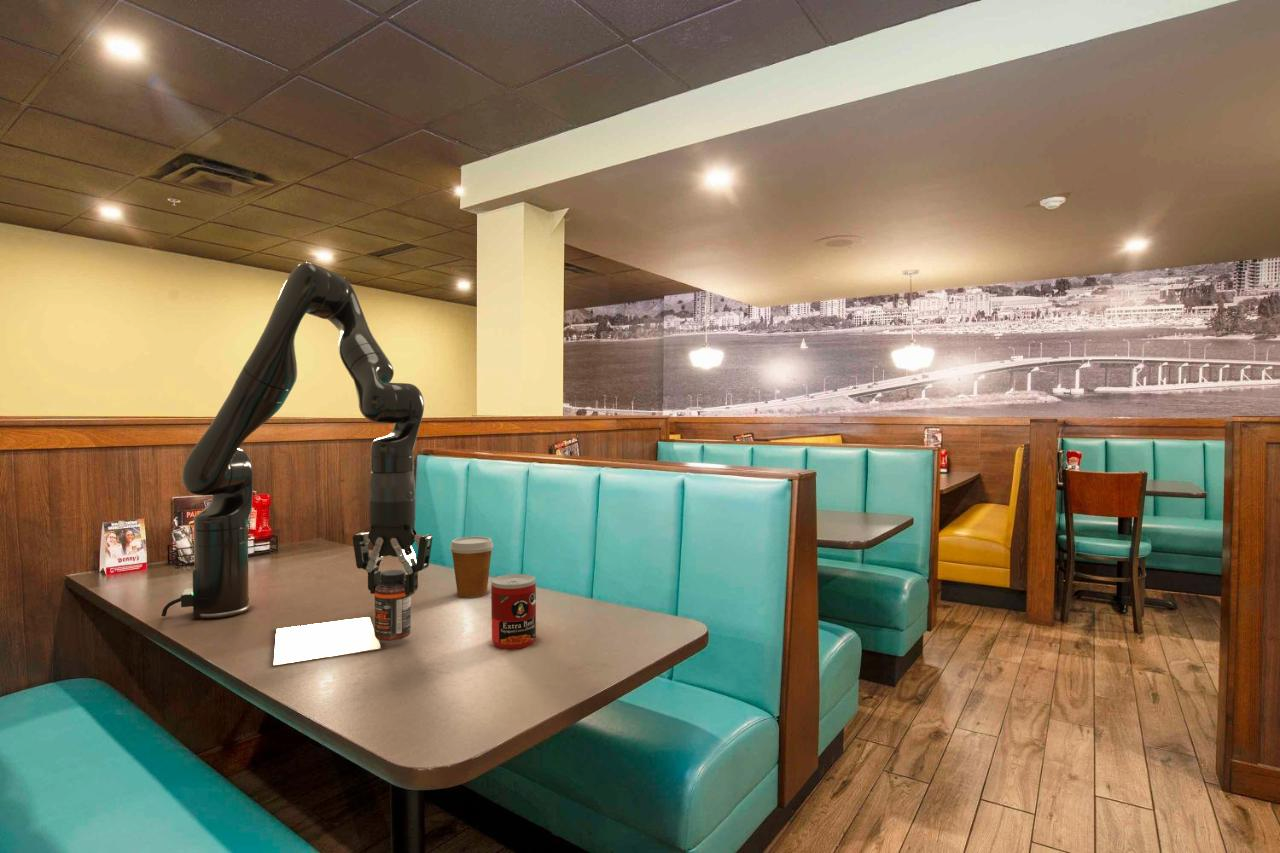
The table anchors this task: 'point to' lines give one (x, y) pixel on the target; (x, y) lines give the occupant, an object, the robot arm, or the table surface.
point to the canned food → (513, 611)
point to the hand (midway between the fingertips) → (392, 593)
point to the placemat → (324, 640)
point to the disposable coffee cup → (471, 565)
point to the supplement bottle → (392, 607)
